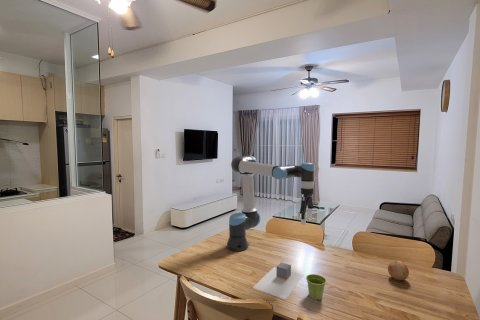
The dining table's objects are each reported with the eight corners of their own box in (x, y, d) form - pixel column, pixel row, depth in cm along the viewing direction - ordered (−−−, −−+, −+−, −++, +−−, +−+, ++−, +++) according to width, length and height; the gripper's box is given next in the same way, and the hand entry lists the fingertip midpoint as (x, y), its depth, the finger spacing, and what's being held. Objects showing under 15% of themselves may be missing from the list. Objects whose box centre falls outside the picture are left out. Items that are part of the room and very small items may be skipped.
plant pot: (310, 288, 128) (310, 271, 127) (328, 295, 122) (329, 278, 121) (302, 297, 121) (302, 279, 120) (321, 305, 115) (321, 286, 114)
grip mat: (252, 288, 128) (252, 287, 128) (274, 267, 150) (274, 266, 150) (285, 300, 118) (285, 299, 118) (303, 276, 140) (303, 275, 140)
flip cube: (276, 277, 138) (276, 266, 138) (280, 272, 143) (281, 262, 143) (286, 280, 135) (286, 269, 134) (290, 275, 140) (291, 265, 139)
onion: (398, 285, 131) (399, 266, 130) (383, 275, 140) (383, 258, 140) (413, 282, 133) (414, 264, 133) (397, 273, 143) (397, 256, 142)
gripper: (307, 191, 143) (306, 228, 144) (318, 185, 164) (317, 217, 166) (294, 190, 147) (294, 225, 148) (306, 184, 168) (306, 215, 170)
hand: (306, 221), depth 157 cm, fingers open, 13 cm apart
